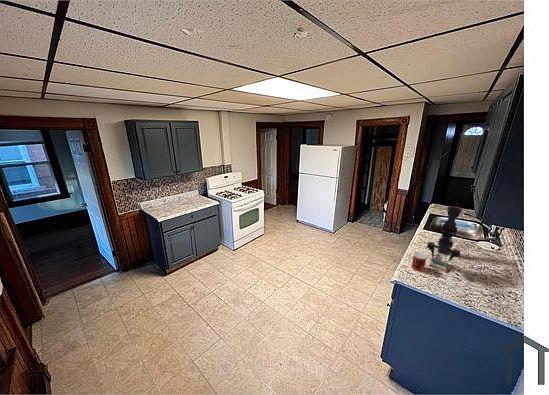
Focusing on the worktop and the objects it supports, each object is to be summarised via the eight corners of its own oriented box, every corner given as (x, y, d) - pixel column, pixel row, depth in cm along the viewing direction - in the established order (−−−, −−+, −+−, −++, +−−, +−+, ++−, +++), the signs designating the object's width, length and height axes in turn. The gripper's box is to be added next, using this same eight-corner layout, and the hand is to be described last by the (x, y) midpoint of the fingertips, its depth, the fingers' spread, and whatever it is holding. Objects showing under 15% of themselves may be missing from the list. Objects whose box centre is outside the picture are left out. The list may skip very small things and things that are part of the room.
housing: (434, 259, 165) (431, 253, 165) (441, 258, 161) (439, 252, 162) (432, 263, 160) (430, 257, 160) (441, 263, 156) (438, 257, 157)
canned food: (421, 265, 162) (424, 252, 158) (425, 272, 155) (428, 259, 151) (409, 264, 164) (412, 251, 160) (413, 270, 157) (416, 257, 153)
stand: (431, 260, 168) (432, 257, 167) (447, 265, 162) (448, 262, 161) (429, 266, 161) (429, 263, 160) (445, 272, 155) (446, 269, 154)
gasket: (465, 277, 150) (466, 276, 150) (474, 280, 147) (474, 279, 147) (465, 280, 147) (465, 279, 147) (474, 283, 144) (474, 282, 144)
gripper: (428, 240, 154) (423, 259, 159) (462, 249, 143) (455, 269, 147) (430, 234, 162) (426, 252, 167) (463, 243, 150) (457, 262, 155)
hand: (440, 259), depth 159 cm, fingers open, 9 cm apart
